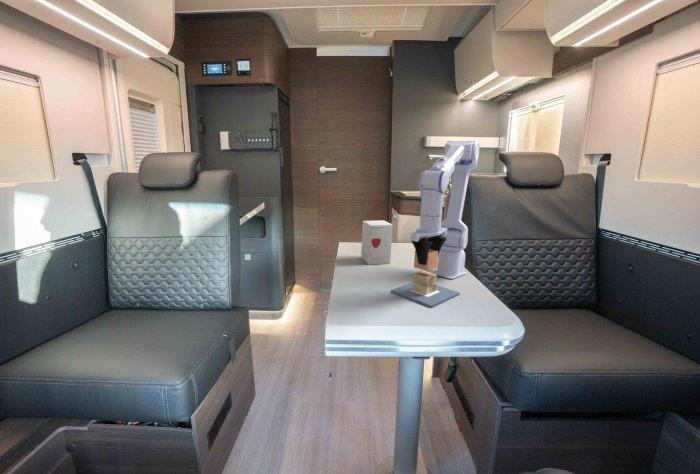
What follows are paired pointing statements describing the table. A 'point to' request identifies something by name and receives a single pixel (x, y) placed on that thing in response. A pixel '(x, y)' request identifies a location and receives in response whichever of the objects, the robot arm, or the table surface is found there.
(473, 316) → the table surface
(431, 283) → the oak block
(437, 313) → the table surface
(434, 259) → the terracotta block
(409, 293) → the board
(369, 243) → the supplement box
